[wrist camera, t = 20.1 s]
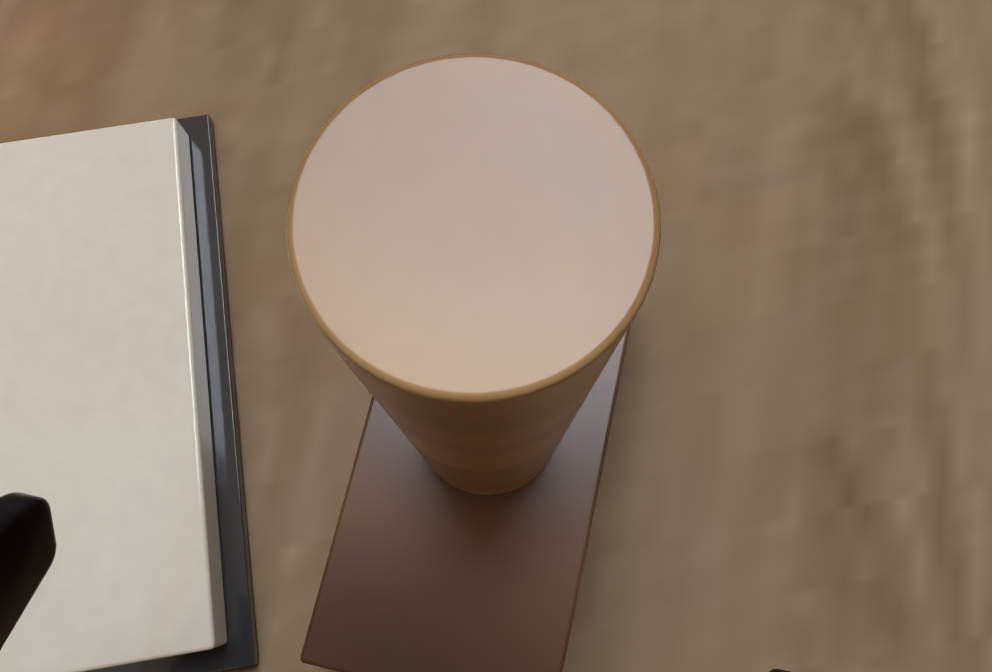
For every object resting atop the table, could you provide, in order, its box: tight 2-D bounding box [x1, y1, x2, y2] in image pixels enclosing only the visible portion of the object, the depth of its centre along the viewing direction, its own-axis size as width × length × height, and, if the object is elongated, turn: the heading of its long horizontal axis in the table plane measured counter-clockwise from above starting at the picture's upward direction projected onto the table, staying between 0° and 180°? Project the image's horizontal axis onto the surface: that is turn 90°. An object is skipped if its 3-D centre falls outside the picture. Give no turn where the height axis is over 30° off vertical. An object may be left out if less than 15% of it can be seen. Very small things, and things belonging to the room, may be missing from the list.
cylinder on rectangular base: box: [286, 54, 661, 672], centre depth 12 cm, size 9×4×13 cm, turn 167°
